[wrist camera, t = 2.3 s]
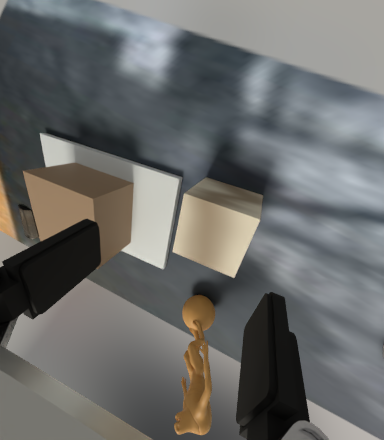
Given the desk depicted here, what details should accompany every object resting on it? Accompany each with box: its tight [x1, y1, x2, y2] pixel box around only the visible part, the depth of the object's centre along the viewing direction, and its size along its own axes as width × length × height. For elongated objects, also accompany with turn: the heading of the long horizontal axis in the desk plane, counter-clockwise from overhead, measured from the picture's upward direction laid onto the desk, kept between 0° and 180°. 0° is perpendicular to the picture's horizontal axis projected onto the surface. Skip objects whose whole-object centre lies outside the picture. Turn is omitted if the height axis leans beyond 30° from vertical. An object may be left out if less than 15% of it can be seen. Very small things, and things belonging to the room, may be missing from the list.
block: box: [18, 205, 39, 239], centre depth 32 cm, size 4×6×2 cm, turn 170°
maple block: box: [173, 177, 263, 278], centre depth 16 cm, size 5×5×5 cm
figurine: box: [174, 295, 215, 435], centre depth 19 cm, size 8×6×12 cm
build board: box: [23, 133, 183, 269], centre depth 21 cm, size 18×12×6 cm, turn 78°
